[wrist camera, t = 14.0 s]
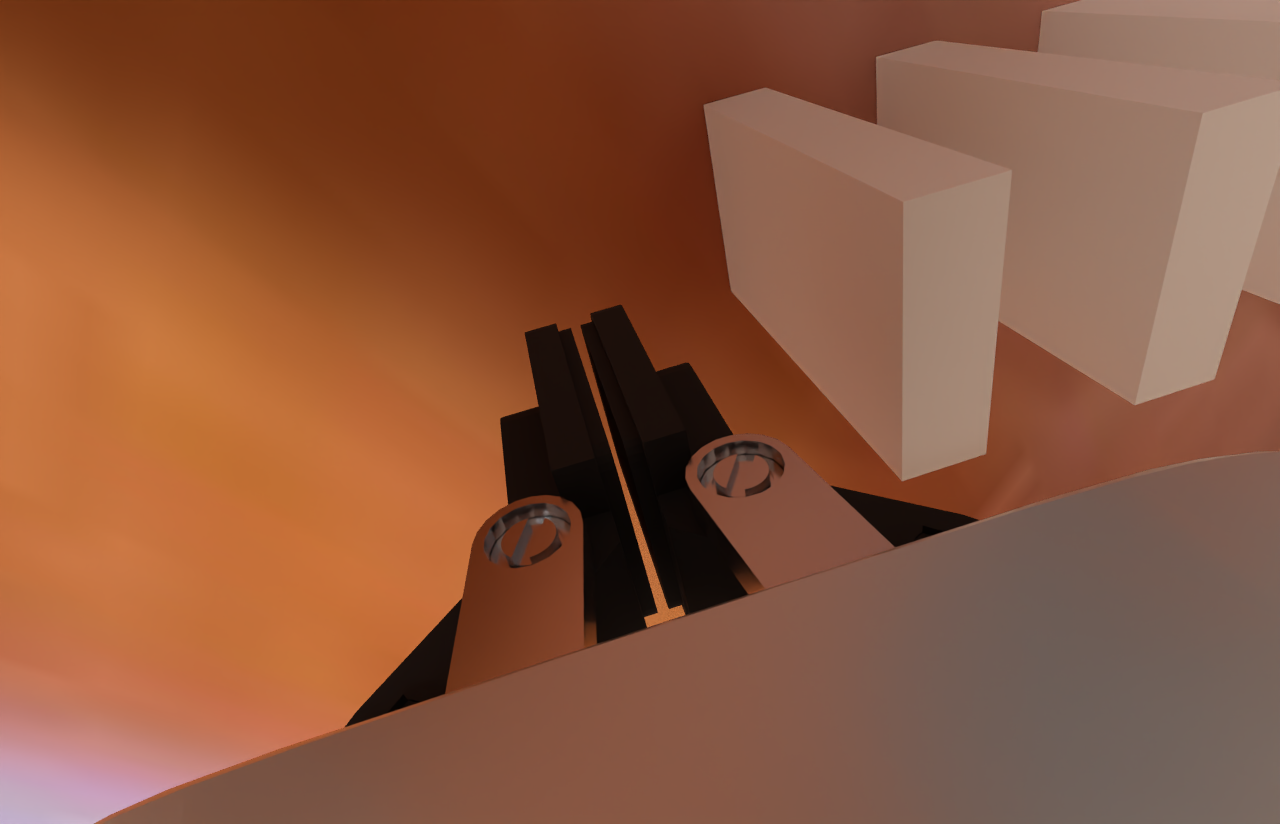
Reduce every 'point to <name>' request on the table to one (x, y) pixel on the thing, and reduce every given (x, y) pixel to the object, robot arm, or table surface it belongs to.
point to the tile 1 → (867, 267)
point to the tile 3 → (1184, 66)
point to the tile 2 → (1106, 197)
